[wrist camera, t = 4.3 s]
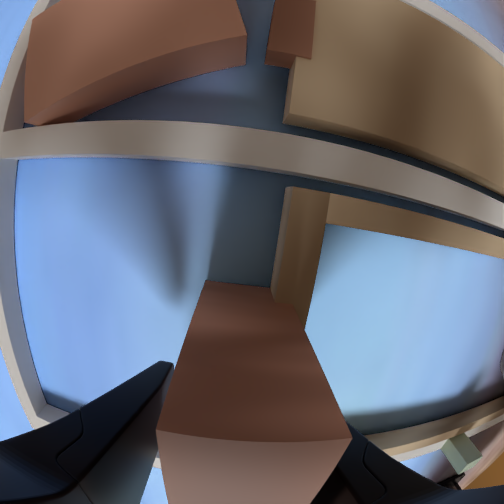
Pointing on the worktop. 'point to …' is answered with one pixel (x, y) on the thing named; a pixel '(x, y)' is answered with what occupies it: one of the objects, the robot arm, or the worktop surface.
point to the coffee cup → (502, 365)
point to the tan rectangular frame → (282, 370)
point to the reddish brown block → (123, 51)
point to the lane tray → (217, 153)
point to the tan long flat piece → (392, 83)
